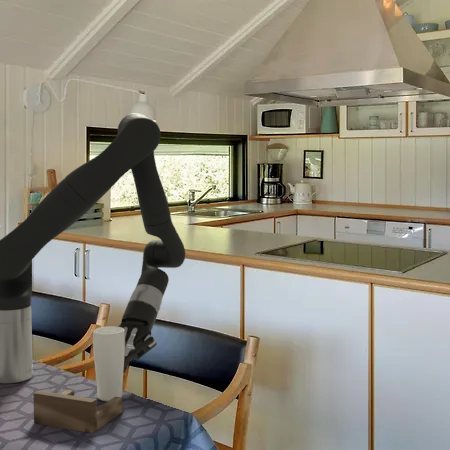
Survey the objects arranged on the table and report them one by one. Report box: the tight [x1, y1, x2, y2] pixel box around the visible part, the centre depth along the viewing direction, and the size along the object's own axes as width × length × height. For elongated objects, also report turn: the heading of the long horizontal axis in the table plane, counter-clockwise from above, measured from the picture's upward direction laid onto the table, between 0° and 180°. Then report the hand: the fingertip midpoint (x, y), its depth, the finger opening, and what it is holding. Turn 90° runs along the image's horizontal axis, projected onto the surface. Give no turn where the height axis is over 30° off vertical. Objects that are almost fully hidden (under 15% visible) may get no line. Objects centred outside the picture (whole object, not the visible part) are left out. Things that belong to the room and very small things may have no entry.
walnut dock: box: [32, 389, 123, 434], centre depth 121 cm, size 11×13×6 cm
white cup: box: [92, 325, 125, 402], centre depth 132 cm, size 7×7×15 cm
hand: (117, 373), depth 135 cm, fingers closed
